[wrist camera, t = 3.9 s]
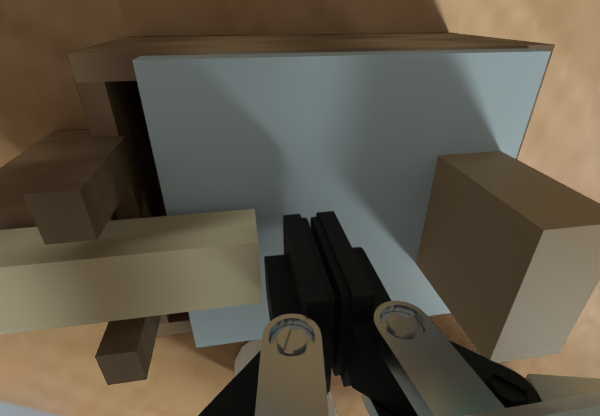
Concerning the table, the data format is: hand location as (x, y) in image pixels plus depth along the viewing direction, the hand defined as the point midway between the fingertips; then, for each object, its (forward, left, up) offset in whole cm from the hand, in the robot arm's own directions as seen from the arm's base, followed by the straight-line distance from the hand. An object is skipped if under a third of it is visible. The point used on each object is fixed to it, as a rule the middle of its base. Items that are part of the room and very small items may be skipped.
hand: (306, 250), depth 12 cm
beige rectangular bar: (+6, 0, -1) cm, 6 cm away
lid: (-2, 0, -3) cm, 3 cm away
